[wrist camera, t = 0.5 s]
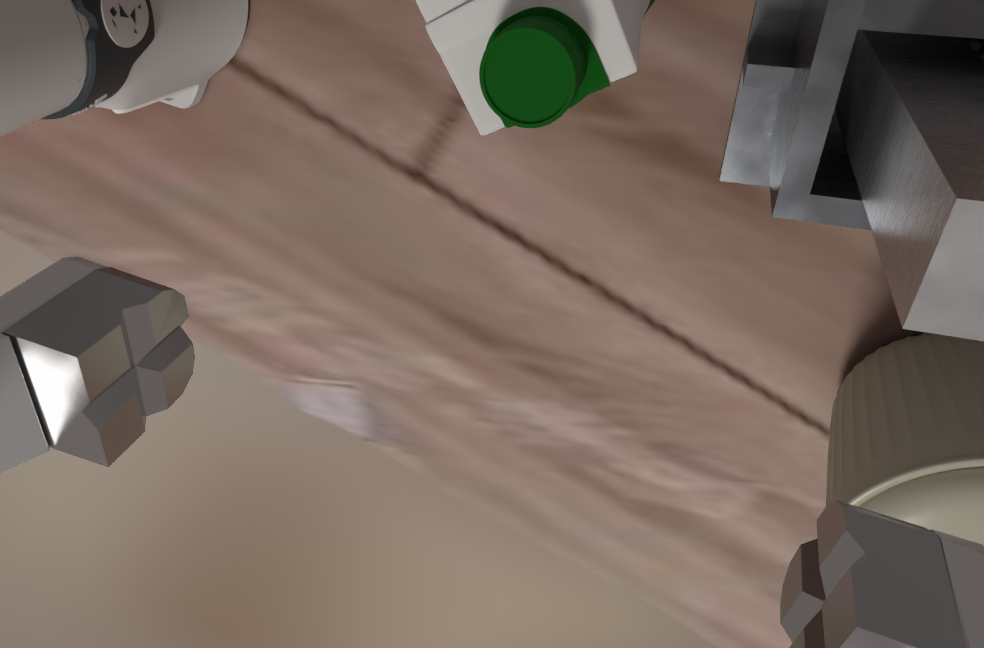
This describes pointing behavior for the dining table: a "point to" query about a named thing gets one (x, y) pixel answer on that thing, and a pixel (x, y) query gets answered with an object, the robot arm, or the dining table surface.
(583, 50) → the milk carton
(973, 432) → the canister
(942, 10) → the stand
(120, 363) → the robot arm
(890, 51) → the column
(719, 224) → the dining table surface
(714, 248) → the dining table surface
